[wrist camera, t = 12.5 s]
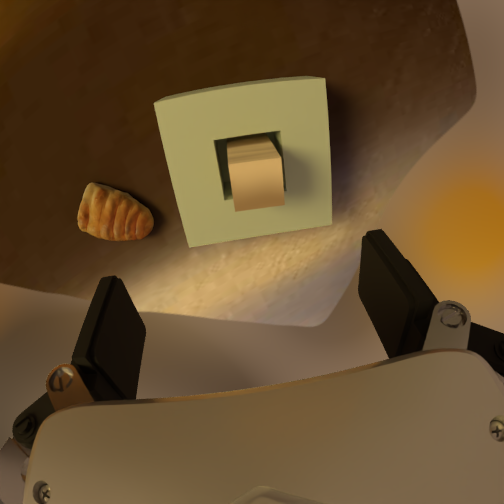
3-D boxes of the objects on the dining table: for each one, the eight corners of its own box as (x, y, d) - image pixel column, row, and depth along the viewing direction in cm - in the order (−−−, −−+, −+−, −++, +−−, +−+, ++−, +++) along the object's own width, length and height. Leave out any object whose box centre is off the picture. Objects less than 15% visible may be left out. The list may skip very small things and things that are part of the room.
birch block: (226, 136, 31) (228, 164, 23) (264, 131, 31) (281, 157, 23) (231, 171, 33) (235, 211, 25) (268, 166, 34) (284, 205, 25)
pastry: (161, 196, 36) (155, 211, 32) (149, 243, 39) (144, 261, 36) (88, 177, 33) (76, 189, 30) (82, 225, 36) (72, 240, 33)
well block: (165, 96, 29) (153, 102, 24) (307, 76, 29) (324, 78, 24) (193, 220, 37) (189, 247, 32) (317, 201, 37) (331, 224, 32)
